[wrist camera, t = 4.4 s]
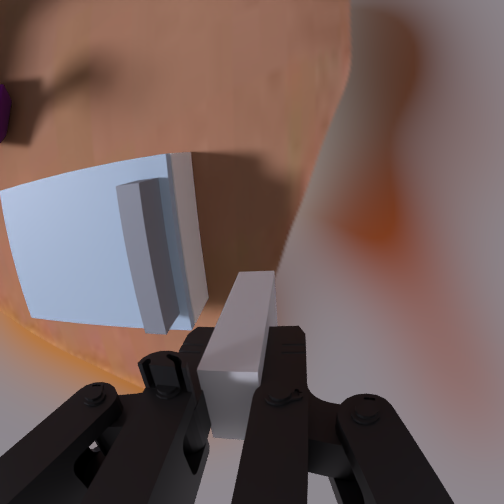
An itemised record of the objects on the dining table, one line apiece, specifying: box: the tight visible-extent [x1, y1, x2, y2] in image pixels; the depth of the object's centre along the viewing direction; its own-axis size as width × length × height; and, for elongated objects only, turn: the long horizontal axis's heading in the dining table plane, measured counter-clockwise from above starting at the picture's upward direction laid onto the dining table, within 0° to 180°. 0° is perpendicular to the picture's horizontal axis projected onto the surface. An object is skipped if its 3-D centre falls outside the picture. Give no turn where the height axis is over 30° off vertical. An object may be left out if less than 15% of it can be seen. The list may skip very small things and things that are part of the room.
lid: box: [0, 153, 195, 334], centre depth 22 cm, size 18×13×4 cm
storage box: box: [170, 152, 209, 323], centre depth 26 cm, size 18×13×4 cm
